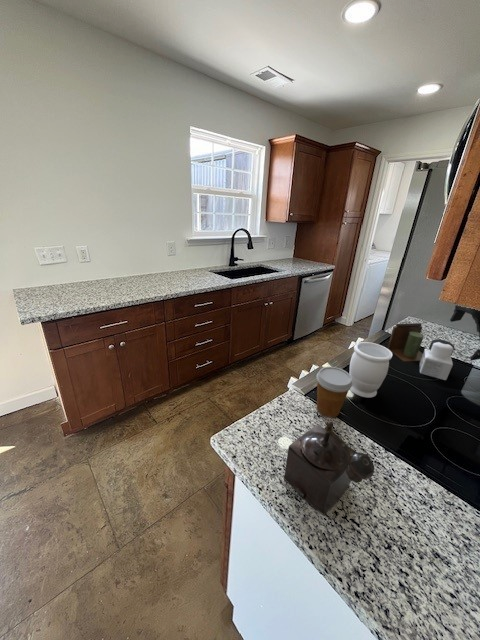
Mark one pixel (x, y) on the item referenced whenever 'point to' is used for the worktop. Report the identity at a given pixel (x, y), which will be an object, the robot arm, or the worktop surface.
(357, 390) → the jar
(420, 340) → the spice tin
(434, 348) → the container
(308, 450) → the brown coffee grinder
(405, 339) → the spice rack
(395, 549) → the worktop surface
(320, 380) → the disposable coffee cup
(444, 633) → the worktop surface
